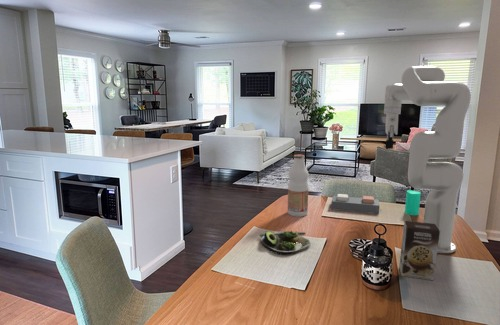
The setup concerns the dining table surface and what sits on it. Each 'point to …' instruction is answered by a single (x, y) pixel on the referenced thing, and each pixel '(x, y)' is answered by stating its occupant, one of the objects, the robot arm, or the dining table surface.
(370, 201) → the key terracotta
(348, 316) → the dining table surface
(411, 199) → the candle
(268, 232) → the salad plate
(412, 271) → the coffee box
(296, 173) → the fruit juice
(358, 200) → the block
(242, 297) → the dining table surface
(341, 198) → the key offwhite
